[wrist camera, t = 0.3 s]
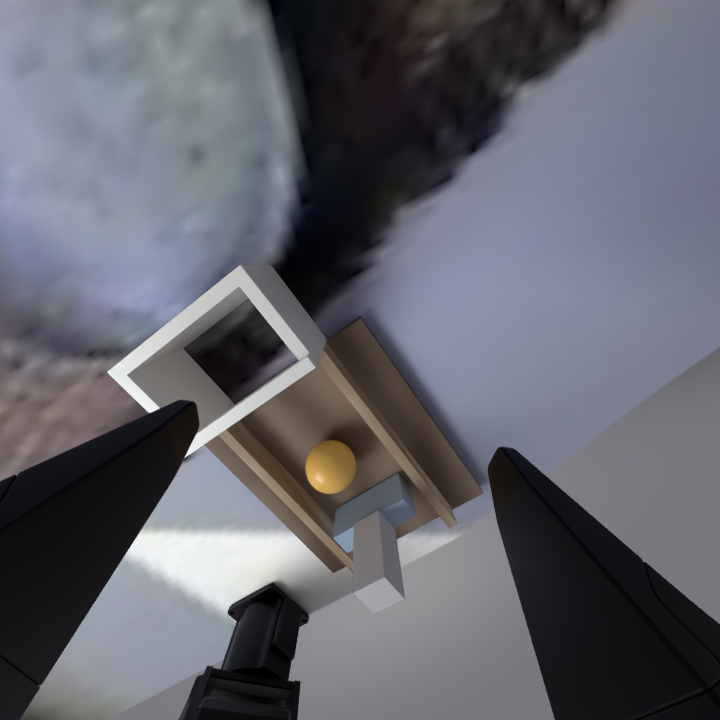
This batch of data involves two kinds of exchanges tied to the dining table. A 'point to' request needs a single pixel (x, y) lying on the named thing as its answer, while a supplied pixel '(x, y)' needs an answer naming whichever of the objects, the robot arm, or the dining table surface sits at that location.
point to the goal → (166, 347)
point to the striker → (375, 541)
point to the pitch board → (356, 430)
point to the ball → (330, 466)
